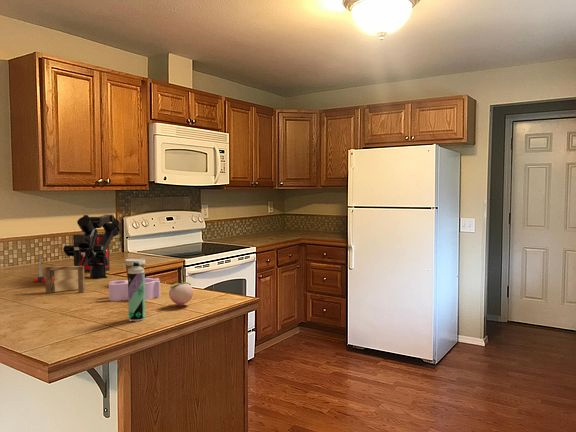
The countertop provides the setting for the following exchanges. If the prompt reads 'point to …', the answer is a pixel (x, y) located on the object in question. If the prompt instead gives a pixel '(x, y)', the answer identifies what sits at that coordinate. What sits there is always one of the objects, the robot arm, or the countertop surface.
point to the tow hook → (40, 278)
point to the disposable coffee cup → (130, 263)
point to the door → (65, 280)
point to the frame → (49, 269)
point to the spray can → (136, 292)
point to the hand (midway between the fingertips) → (80, 265)
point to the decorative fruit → (181, 293)
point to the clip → (120, 289)
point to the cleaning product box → (86, 267)
